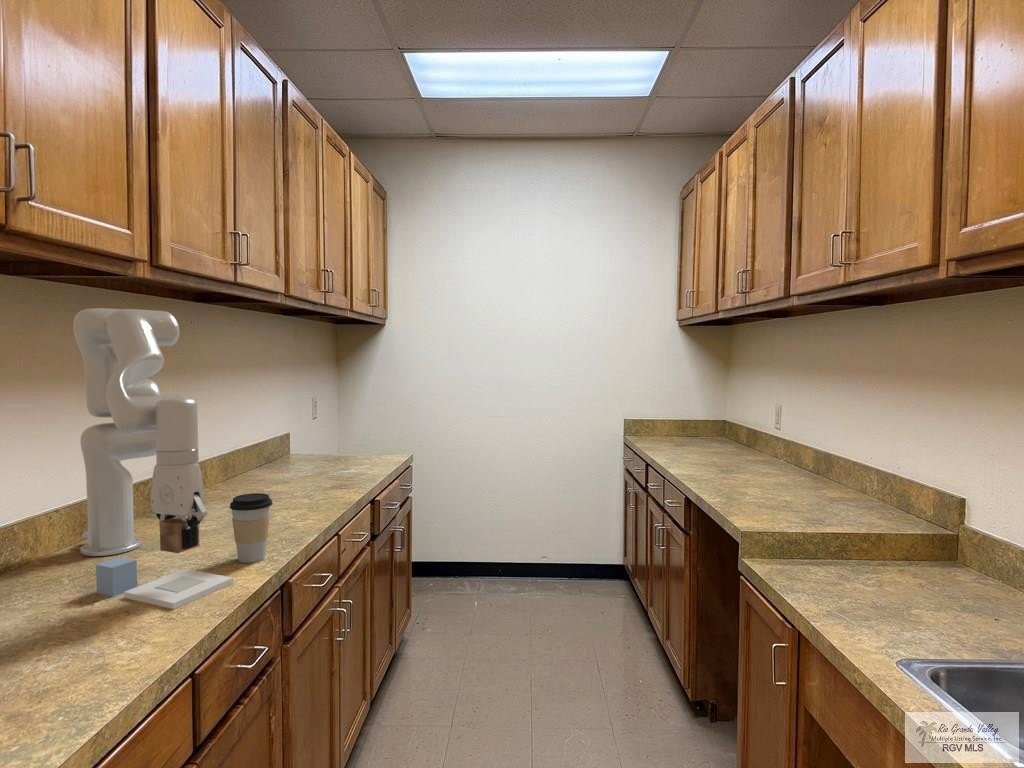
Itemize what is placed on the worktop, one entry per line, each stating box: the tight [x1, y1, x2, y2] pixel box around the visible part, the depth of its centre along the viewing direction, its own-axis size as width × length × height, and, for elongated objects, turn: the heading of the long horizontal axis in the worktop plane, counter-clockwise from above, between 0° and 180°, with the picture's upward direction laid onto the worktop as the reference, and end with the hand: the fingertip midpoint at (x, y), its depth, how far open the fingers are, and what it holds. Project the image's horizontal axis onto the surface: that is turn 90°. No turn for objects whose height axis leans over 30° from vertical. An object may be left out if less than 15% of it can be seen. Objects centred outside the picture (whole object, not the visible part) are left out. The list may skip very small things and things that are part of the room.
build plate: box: [123, 568, 234, 610], centre depth 121 cm, size 14×14×1 cm
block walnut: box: [159, 516, 200, 554], centre depth 121 cm, size 5×5×6 cm
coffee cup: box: [229, 492, 273, 564], centre depth 140 cm, size 9×9×15 cm
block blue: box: [95, 556, 138, 598], centre depth 121 cm, size 5×5×6 cm
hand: (179, 544), depth 121 cm, fingers closed on block walnut, 5 cm apart
